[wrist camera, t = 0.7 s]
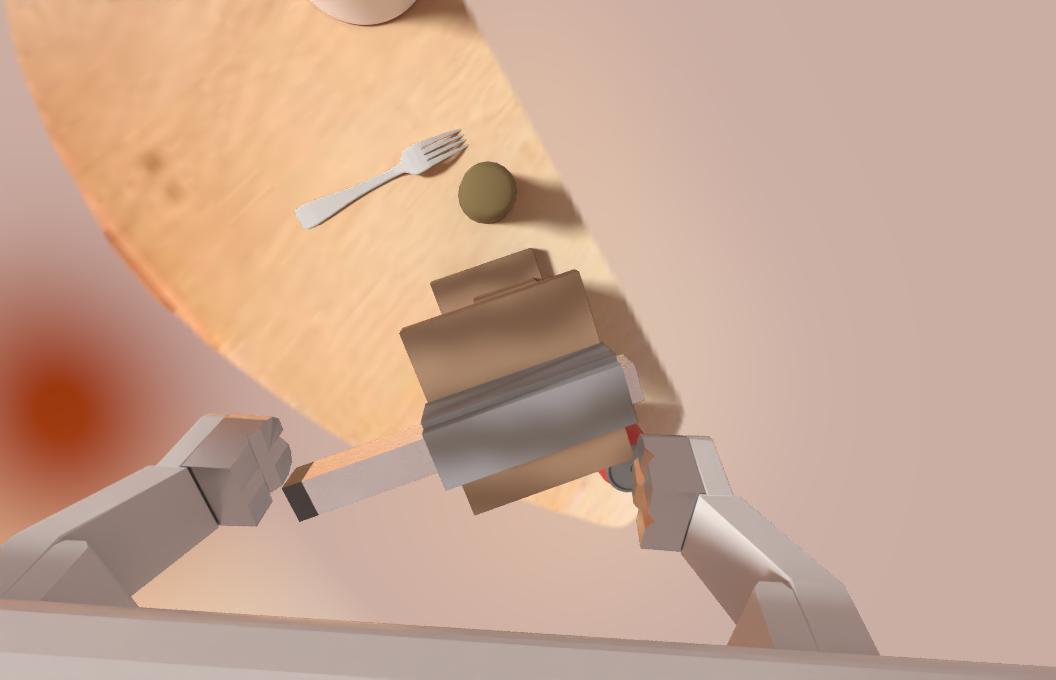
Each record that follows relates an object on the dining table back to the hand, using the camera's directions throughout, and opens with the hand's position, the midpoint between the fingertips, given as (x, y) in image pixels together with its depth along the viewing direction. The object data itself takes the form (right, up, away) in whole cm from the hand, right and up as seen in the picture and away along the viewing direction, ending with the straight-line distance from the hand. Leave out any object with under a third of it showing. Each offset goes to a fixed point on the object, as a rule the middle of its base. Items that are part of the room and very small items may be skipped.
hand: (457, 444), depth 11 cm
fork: (-14, +20, +42) cm, 48 cm away
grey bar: (-2, -3, +20) cm, 21 cm away
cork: (-3, +19, +43) cm, 47 cm away
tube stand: (-2, +5, +46) cm, 47 cm away
